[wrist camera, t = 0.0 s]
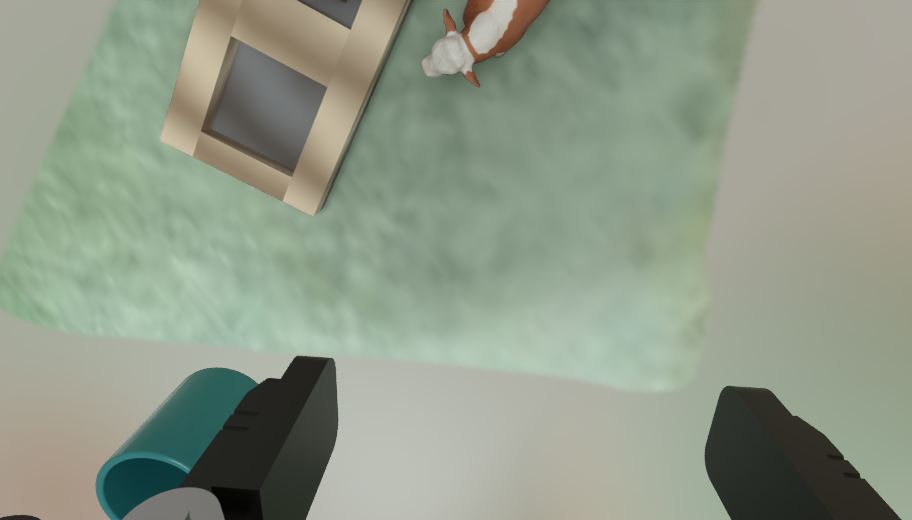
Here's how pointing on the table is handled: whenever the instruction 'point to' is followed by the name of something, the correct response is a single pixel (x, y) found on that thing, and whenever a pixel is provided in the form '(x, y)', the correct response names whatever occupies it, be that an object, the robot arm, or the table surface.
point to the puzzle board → (280, 89)
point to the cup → (170, 440)
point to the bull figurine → (481, 35)
